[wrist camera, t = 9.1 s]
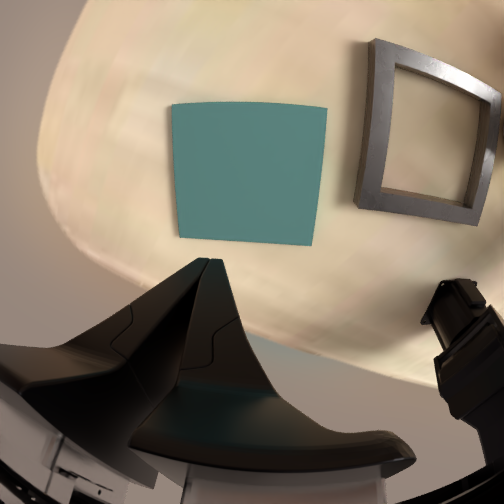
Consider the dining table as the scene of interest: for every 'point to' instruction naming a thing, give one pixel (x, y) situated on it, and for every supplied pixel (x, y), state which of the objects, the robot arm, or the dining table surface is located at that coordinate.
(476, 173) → the gray square frame
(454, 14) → the dining table surface
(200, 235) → the teal mat
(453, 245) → the dining table surface
